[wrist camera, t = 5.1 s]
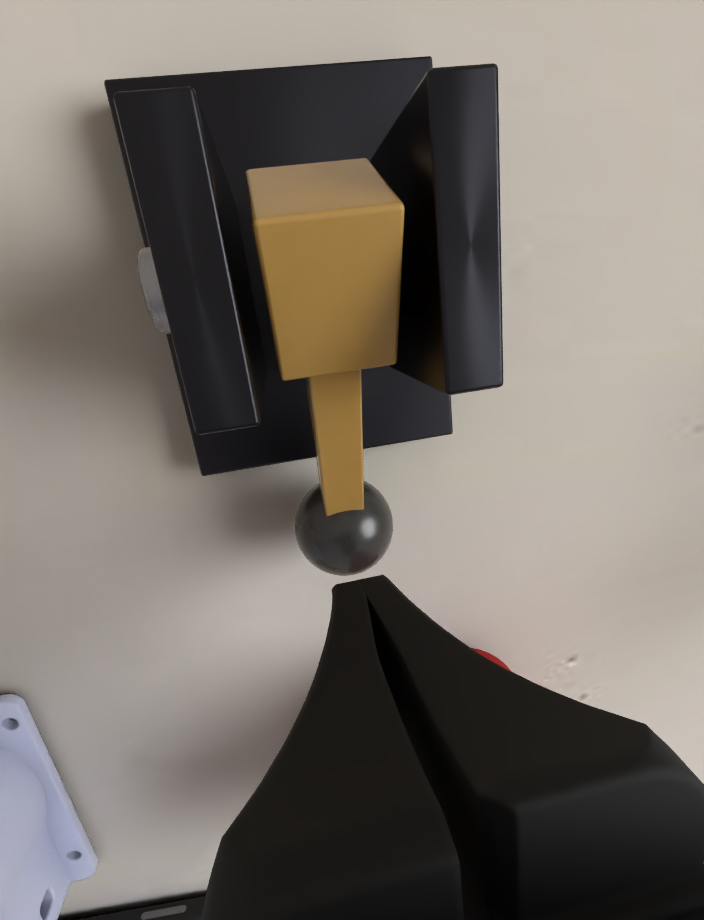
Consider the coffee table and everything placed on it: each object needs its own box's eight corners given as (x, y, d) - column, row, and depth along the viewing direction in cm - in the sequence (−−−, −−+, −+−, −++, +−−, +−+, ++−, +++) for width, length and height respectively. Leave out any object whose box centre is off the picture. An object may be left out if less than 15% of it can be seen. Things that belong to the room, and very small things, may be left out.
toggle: (379, 507, 16) (402, 582, 14) (295, 522, 16) (307, 602, 14) (386, 148, 8) (440, 208, 6) (219, 164, 8) (221, 232, 6)
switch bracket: (440, 425, 16) (582, 522, 9) (206, 464, 15) (143, 610, 8) (418, 77, 13) (616, -242, 5) (118, 100, 12) (-135, -244, 4)
